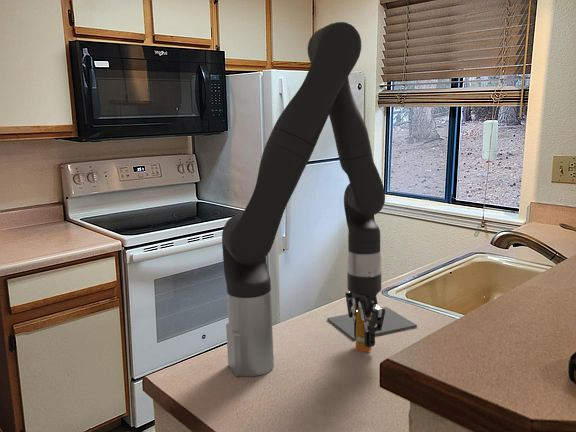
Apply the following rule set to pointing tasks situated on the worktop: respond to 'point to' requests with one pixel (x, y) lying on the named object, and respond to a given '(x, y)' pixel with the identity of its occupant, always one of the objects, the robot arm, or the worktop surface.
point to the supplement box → (361, 334)
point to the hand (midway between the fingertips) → (364, 341)
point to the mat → (390, 324)
